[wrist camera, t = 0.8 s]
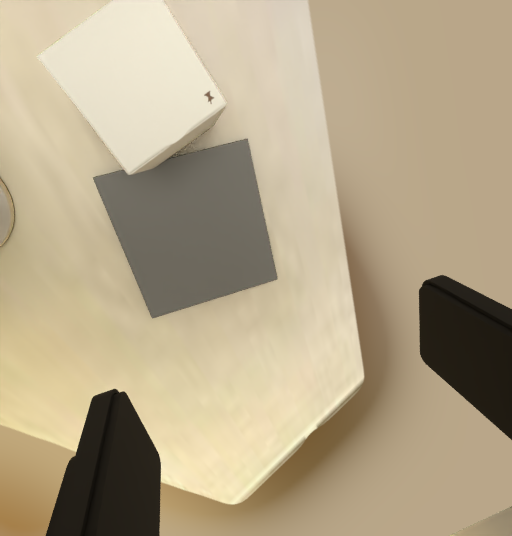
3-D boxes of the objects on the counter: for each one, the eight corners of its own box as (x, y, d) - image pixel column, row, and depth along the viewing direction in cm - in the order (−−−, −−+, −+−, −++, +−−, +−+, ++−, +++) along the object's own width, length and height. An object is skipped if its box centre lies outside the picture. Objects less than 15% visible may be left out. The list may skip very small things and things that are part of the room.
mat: (152, 316, 45) (152, 318, 44) (94, 177, 37) (92, 177, 36) (276, 277, 47) (277, 279, 46) (246, 138, 39) (247, 139, 38)
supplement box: (165, 45, 34) (149, -35, 20) (215, 125, 37) (233, 104, 23) (94, 96, 34) (29, 52, 20) (150, 171, 37) (128, 178, 23)
